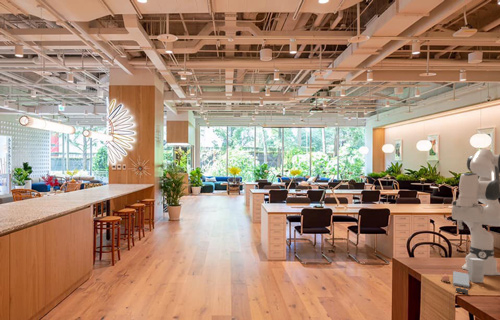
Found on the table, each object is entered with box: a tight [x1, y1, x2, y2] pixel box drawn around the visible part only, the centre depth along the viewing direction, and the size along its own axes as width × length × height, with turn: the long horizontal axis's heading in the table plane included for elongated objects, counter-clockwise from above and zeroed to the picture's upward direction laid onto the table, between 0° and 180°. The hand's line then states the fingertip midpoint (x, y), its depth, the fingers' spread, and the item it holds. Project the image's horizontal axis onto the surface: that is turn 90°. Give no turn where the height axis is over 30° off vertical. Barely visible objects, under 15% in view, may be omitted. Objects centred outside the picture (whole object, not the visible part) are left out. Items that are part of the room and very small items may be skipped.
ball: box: [441, 274, 450, 282], centre depth 184 cm, size 4×4×4 cm
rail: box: [455, 287, 469, 295], centre depth 167 cm, size 1×5×2 cm, turn 60°
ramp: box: [452, 270, 470, 289], centre depth 182 cm, size 12×7×4 cm, turn 150°
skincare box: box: [467, 258, 485, 284], centre depth 187 cm, size 6×4×12 cm
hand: (467, 230), depth 180 cm, fingers open, 8 cm apart
